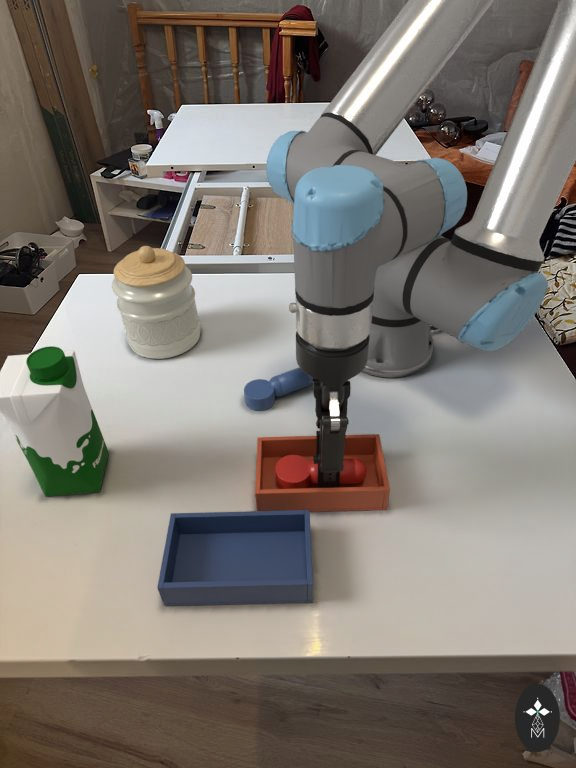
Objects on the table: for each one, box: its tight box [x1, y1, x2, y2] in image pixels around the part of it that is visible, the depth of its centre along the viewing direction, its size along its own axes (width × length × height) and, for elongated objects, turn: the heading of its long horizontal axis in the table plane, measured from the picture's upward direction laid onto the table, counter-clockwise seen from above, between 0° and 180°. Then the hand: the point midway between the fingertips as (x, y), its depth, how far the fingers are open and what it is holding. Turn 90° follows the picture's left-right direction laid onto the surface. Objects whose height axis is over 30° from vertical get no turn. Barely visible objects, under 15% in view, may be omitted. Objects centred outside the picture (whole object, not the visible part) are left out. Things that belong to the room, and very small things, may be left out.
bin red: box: [254, 433, 391, 513], centre depth 68 cm, size 16×9×4 cm, turn 91°
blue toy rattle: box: [243, 366, 313, 412], centre depth 82 cm, size 12×5×3 cm, turn 118°
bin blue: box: [156, 510, 314, 607], centre depth 60 cm, size 16×9×4 cm, turn 91°
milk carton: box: [0, 345, 110, 498], centre depth 65 cm, size 9×9×20 cm
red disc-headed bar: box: [275, 455, 367, 489], centre depth 68 cm, size 12×5×3 cm, turn 91°
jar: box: [111, 245, 202, 360], centre depth 89 cm, size 13×13×18 cm
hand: (327, 477), depth 69 cm, fingers closed on red disc-headed bar, 3 cm apart
